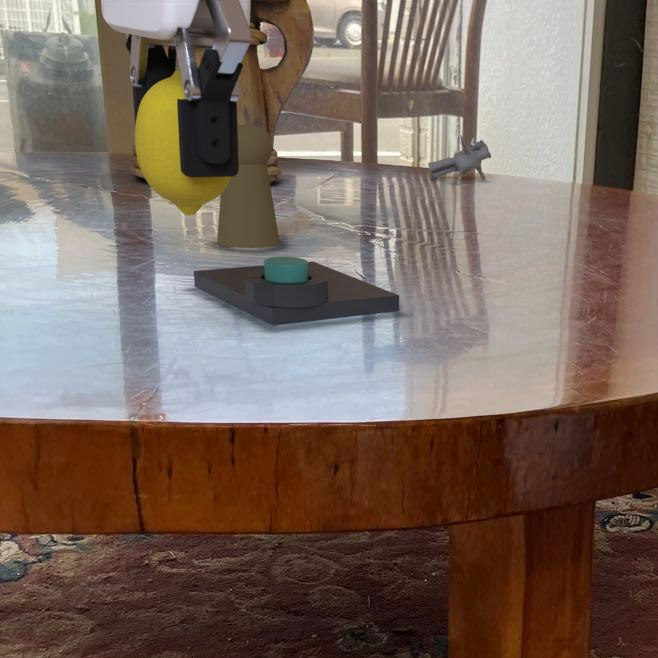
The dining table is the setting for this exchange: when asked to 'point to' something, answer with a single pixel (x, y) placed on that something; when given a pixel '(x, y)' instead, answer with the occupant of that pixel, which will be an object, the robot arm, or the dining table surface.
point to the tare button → (286, 269)
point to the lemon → (169, 149)
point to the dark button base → (296, 294)
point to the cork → (249, 195)
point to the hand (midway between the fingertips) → (186, 163)
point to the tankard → (269, 69)
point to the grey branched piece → (462, 160)
